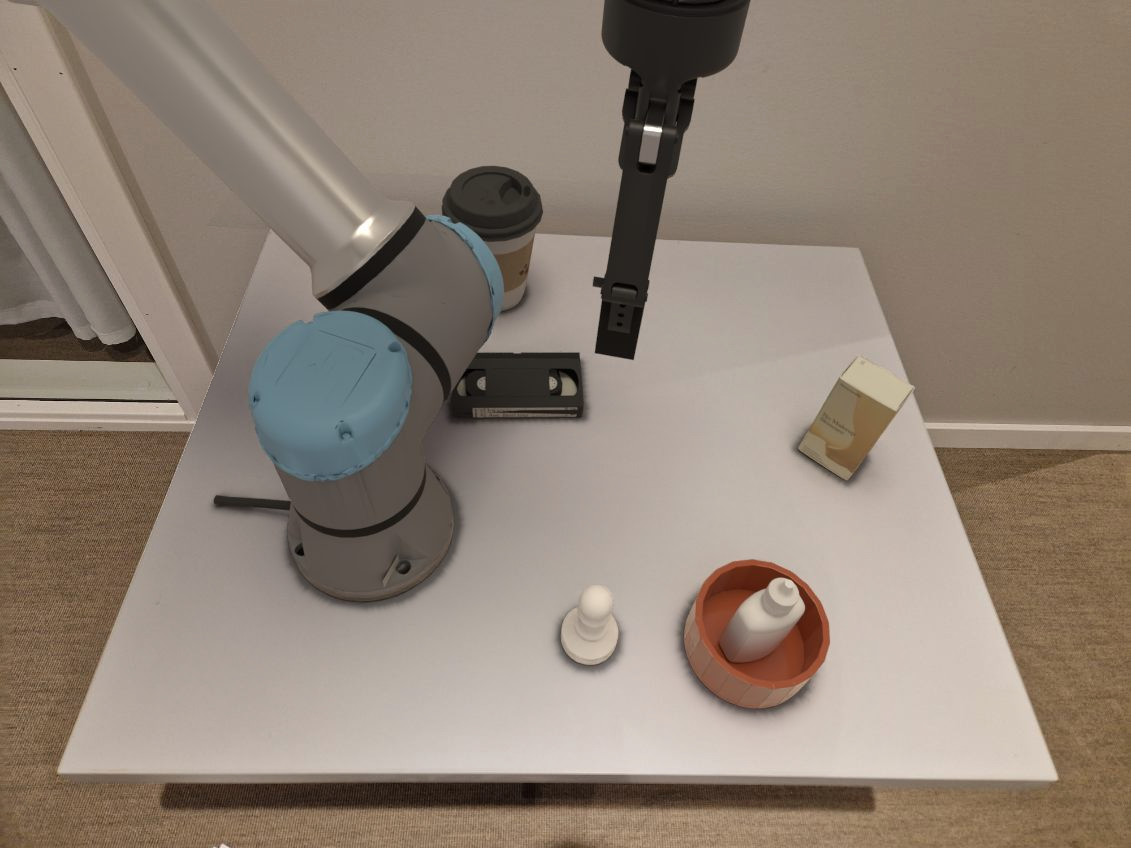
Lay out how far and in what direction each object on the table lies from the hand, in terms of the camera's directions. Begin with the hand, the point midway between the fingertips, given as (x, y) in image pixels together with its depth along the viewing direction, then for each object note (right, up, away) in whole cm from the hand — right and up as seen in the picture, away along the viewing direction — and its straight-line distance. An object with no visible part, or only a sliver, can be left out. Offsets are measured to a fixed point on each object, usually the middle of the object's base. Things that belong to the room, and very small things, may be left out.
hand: (627, 287), depth 54 cm
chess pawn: (-3, -29, +11) cm, 31 cm away
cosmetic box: (+24, -14, +25) cm, 37 cm away
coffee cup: (-14, +6, +38) cm, 40 cm away
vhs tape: (-10, -7, +28) cm, 31 cm away
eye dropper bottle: (+12, -30, +11) cm, 34 cm away
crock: (+12, -30, +11) cm, 34 cm away
